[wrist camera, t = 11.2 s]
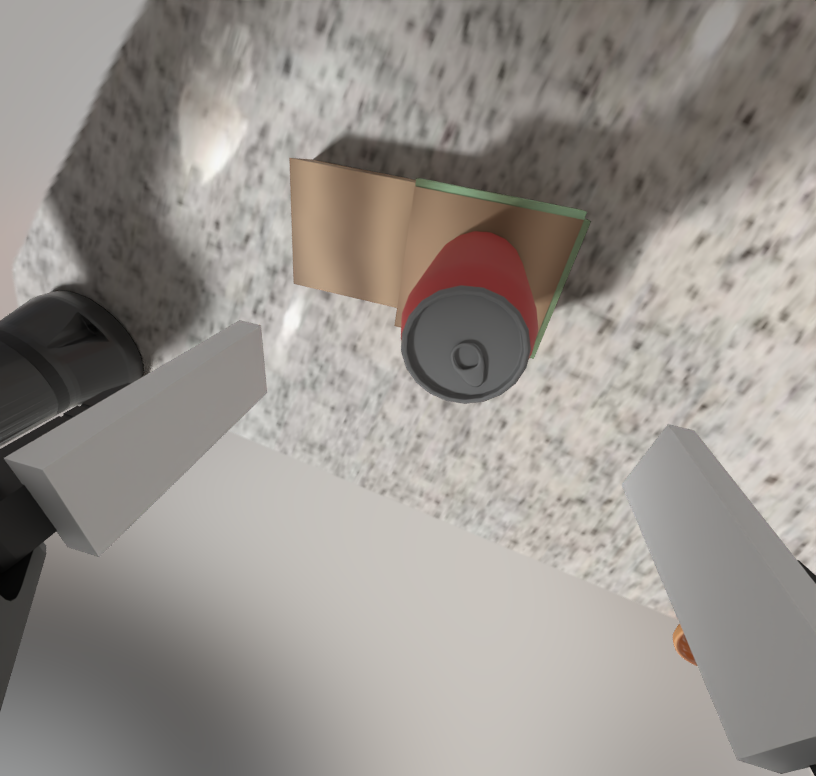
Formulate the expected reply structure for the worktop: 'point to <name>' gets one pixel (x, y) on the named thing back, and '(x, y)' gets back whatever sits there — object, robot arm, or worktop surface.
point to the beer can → (470, 320)
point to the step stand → (417, 233)
